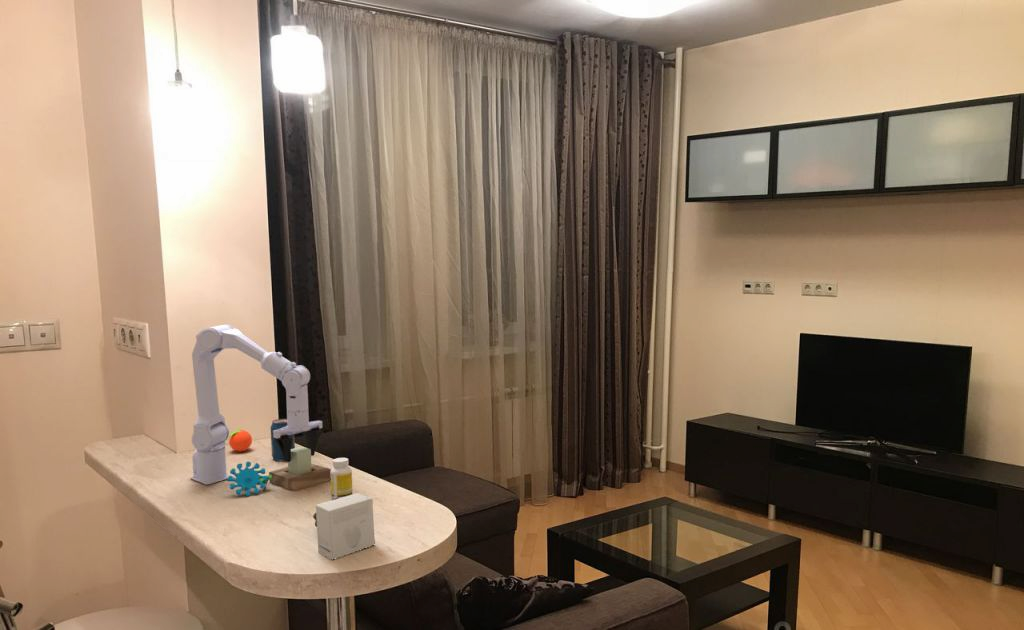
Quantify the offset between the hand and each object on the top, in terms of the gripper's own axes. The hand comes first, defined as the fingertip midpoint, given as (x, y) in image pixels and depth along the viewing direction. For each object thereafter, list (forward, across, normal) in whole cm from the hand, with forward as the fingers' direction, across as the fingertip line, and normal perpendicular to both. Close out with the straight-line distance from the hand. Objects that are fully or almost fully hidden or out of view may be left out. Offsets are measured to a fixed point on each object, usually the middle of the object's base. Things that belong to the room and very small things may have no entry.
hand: (299, 458), depth 195 cm
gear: (+7, -13, +3) cm, 15 cm away
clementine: (+7, +6, +43) cm, 44 cm away
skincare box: (+7, -21, -48) cm, 53 cm away
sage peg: (+7, 0, 0) cm, 7 cm away
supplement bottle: (+7, -1, -20) cm, 21 cm away
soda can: (+7, +10, +24) cm, 27 cm away
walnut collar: (+6, 0, 0) cm, 7 cm away
